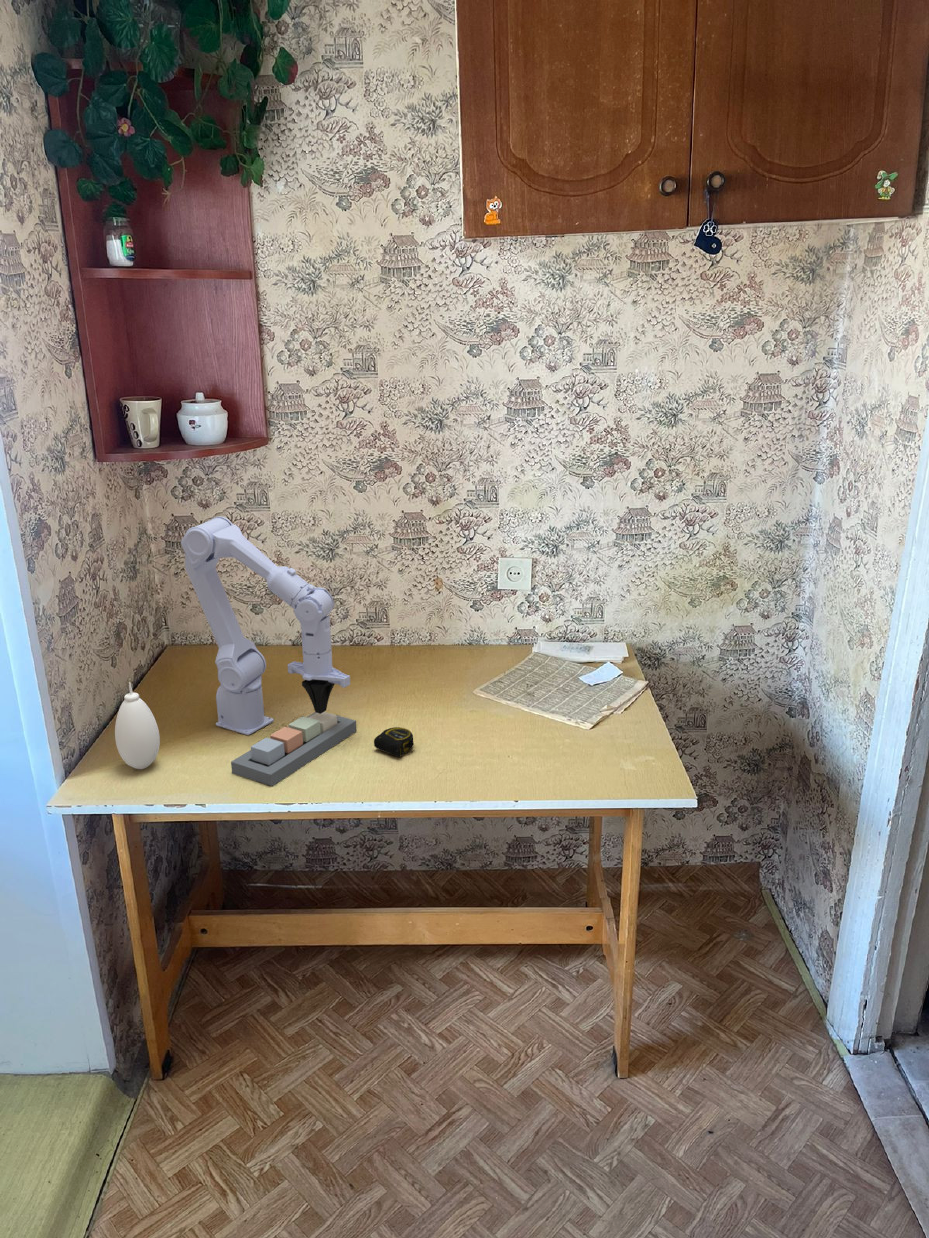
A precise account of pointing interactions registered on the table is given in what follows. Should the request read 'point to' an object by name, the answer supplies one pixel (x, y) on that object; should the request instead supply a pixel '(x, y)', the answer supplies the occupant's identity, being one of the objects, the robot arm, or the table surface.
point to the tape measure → (395, 741)
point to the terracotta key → (288, 738)
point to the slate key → (267, 751)
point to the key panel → (293, 755)
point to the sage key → (306, 727)
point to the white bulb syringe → (136, 732)
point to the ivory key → (325, 720)
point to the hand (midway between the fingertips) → (320, 711)
